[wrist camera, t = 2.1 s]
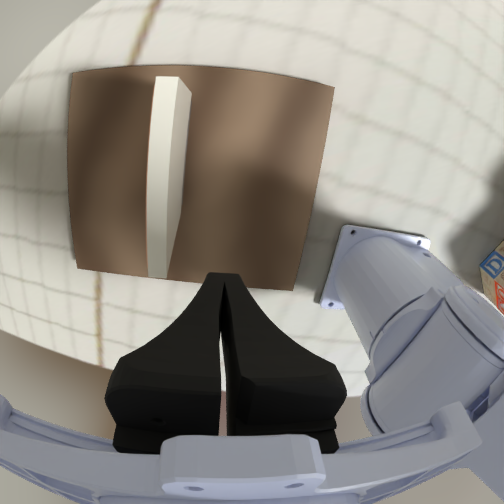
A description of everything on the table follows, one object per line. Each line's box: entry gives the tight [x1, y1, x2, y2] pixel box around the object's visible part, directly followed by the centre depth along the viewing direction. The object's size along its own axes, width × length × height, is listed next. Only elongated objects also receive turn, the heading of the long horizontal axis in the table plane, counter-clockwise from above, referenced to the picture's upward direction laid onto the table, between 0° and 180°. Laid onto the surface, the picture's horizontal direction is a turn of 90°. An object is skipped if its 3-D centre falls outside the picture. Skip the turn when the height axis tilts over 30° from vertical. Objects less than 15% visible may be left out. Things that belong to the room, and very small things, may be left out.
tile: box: [146, 76, 192, 278], centre depth 13 cm, size 8×8×1 cm
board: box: [67, 65, 335, 291], centre depth 19 cm, size 18×16×2 cm
